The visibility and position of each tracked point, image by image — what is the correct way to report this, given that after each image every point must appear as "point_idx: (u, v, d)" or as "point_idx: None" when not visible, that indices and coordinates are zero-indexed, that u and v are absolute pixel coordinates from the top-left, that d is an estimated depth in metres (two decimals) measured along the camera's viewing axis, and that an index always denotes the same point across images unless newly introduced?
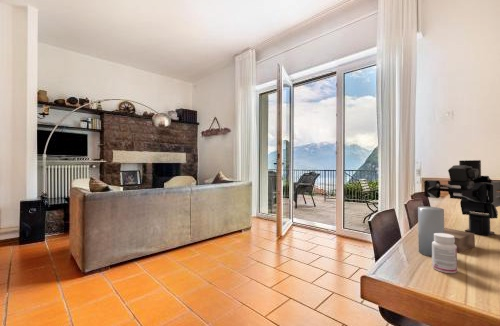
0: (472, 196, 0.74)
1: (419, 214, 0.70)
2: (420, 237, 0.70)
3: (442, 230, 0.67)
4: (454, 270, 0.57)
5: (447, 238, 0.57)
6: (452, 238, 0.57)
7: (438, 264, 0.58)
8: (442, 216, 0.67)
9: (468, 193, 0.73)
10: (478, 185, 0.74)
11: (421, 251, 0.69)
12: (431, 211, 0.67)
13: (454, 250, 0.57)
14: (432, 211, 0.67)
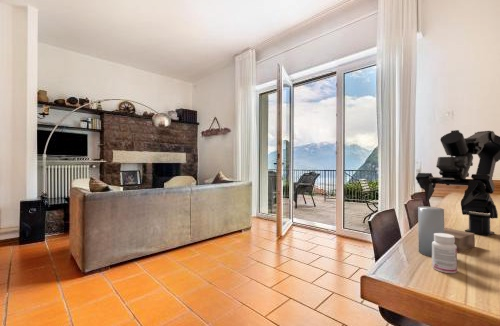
0: (472, 198, 0.71)
1: (419, 214, 0.70)
2: (420, 237, 0.70)
3: (442, 230, 0.67)
4: (454, 270, 0.57)
5: (447, 238, 0.57)
6: (452, 238, 0.57)
7: (438, 264, 0.58)
8: (442, 216, 0.67)
9: (468, 199, 0.70)
10: (474, 183, 0.70)
11: (421, 251, 0.69)
12: (431, 211, 0.67)
13: (454, 250, 0.57)
14: (432, 211, 0.67)
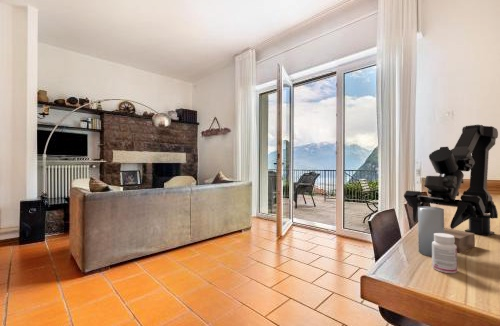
0: (461, 220, 0.66)
1: (419, 214, 0.70)
2: (420, 237, 0.70)
3: (442, 230, 0.67)
4: (454, 270, 0.57)
5: (447, 238, 0.57)
6: (452, 238, 0.57)
7: (438, 264, 0.58)
8: (442, 216, 0.67)
9: (457, 222, 0.66)
10: (464, 206, 0.66)
11: (421, 251, 0.69)
12: (431, 211, 0.67)
13: (454, 250, 0.57)
14: (432, 211, 0.67)
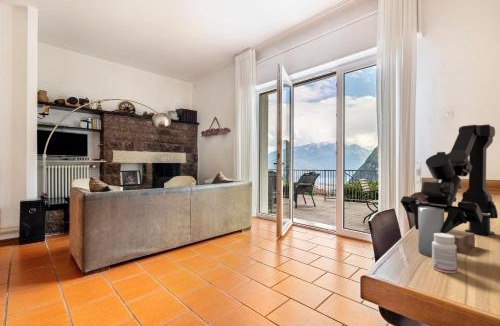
0: (452, 227, 0.67)
1: (419, 214, 0.70)
2: (420, 237, 0.70)
3: None
4: (454, 270, 0.57)
5: (447, 238, 0.57)
6: (452, 238, 0.57)
7: (438, 264, 0.58)
8: (442, 216, 0.67)
9: (447, 228, 0.66)
10: (454, 212, 0.66)
11: (421, 251, 0.69)
12: (431, 211, 0.67)
13: (454, 250, 0.57)
14: (432, 211, 0.67)
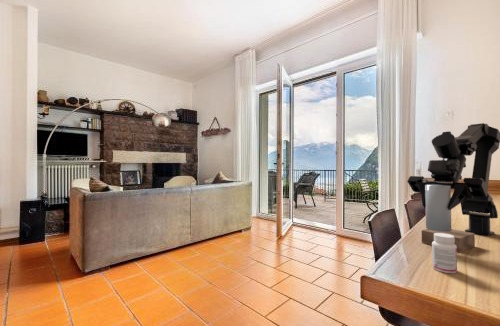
0: (458, 202, 0.69)
1: (426, 191, 0.73)
2: (427, 213, 0.72)
3: None
4: (454, 270, 0.57)
5: (447, 238, 0.57)
6: (452, 238, 0.57)
7: (438, 264, 0.58)
8: (449, 191, 0.69)
9: (454, 203, 0.69)
10: (460, 187, 0.68)
11: (428, 226, 0.72)
12: (438, 187, 0.70)
13: (454, 249, 0.57)
14: (439, 187, 0.69)
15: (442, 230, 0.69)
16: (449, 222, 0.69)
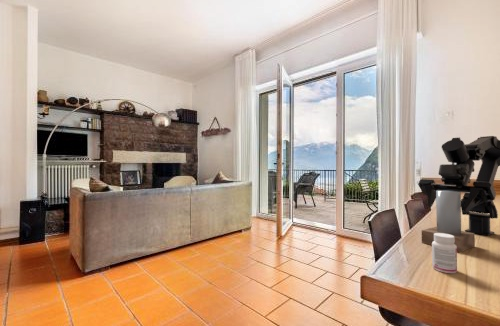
0: (473, 205, 0.72)
1: (437, 196, 0.77)
2: (438, 217, 0.76)
3: (459, 210, 0.73)
4: (454, 270, 0.57)
5: (447, 238, 0.57)
6: (452, 238, 0.57)
7: (438, 264, 0.58)
8: (459, 197, 0.73)
9: (470, 206, 0.72)
10: (476, 191, 0.71)
11: (439, 230, 0.76)
12: (449, 193, 0.74)
13: (454, 250, 0.57)
14: (450, 193, 0.74)
15: (452, 234, 0.73)
16: (459, 226, 0.73)
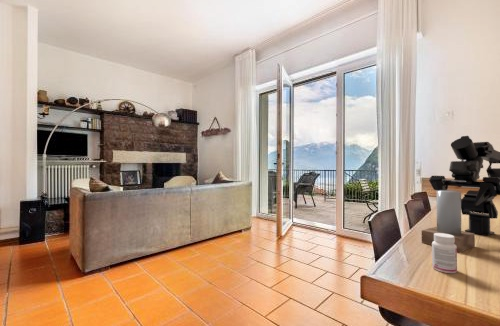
0: (483, 199, 0.77)
1: (438, 196, 0.77)
2: (439, 217, 0.76)
3: (459, 210, 0.73)
4: (454, 270, 0.57)
5: (447, 238, 0.57)
6: (452, 238, 0.57)
7: (438, 264, 0.58)
8: (459, 197, 0.73)
9: (480, 200, 0.76)
10: (486, 186, 0.76)
11: (439, 230, 0.76)
12: (450, 193, 0.74)
13: (454, 249, 0.57)
14: (450, 193, 0.74)
15: (453, 234, 0.73)
16: (459, 226, 0.73)
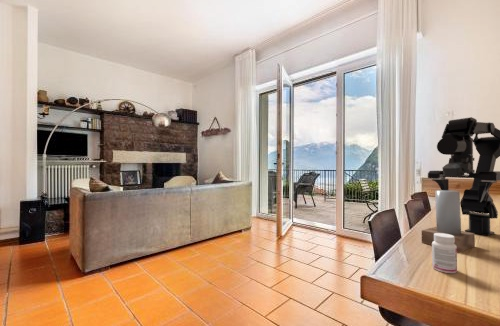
0: (485, 191, 0.78)
1: (437, 196, 0.77)
2: (438, 217, 0.76)
3: (458, 210, 0.74)
4: (454, 270, 0.57)
5: (447, 238, 0.57)
6: (452, 238, 0.57)
7: (438, 264, 0.58)
8: (458, 197, 0.74)
9: (483, 196, 0.78)
10: (484, 184, 0.76)
11: (439, 230, 0.76)
12: (448, 193, 0.74)
13: (454, 249, 0.57)
14: (449, 193, 0.74)
15: (453, 233, 0.73)
16: (459, 226, 0.74)
